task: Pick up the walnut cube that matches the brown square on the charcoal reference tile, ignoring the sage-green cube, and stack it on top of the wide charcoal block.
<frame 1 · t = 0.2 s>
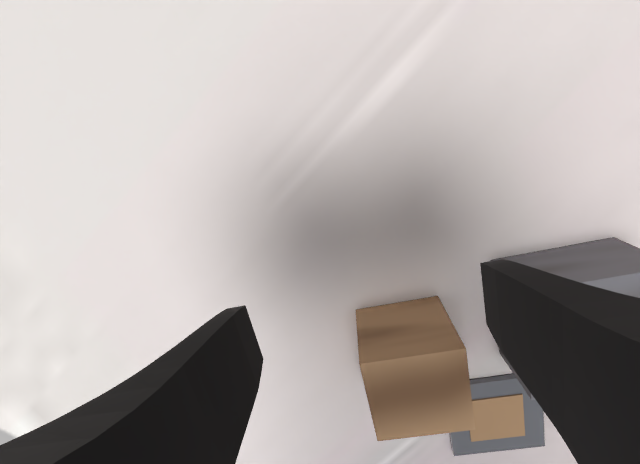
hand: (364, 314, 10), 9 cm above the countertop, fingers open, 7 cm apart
reference tile: (492, 412, 23), on the countertop
charcoal base block: (550, 297, 20), on the countertop
walnut cube: (402, 336, 22), on the countertop
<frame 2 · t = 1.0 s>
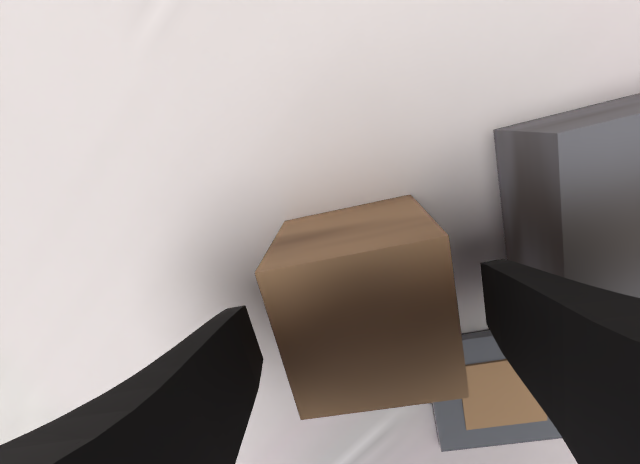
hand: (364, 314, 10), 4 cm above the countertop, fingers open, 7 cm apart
reference tile: (498, 386, 15), on the countertop
charcoal base block: (589, 194, 13), on the countertop
walnut cube: (358, 265, 14), on the countertop
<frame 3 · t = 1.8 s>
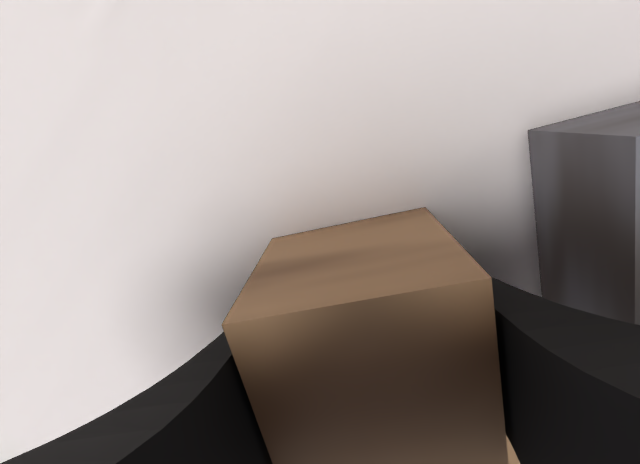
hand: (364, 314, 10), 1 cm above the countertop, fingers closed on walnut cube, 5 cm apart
walnut cube: (361, 291, 12), on the countertop, touching gripper
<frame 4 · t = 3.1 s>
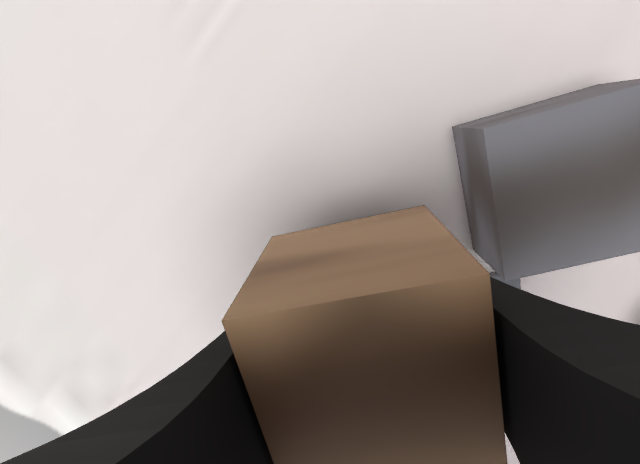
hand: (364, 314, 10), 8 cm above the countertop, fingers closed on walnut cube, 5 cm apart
charcoal base block: (528, 173, 17), on the countertop
walnut cube: (360, 289, 12), point 7 cm above the countertop, touching gripper
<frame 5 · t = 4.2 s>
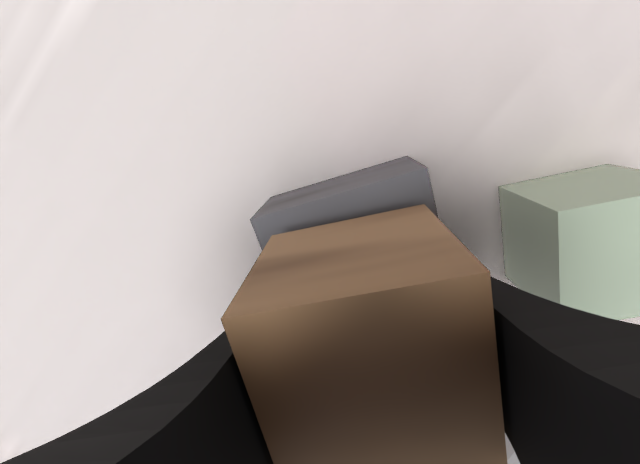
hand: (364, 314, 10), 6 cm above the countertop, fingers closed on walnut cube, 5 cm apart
charcoal base block: (355, 239, 17), on the countertop
sage cube: (552, 222, 16), on the countertop
walnut cube: (360, 288, 12), point 5 cm above the countertop, touching gripper
when the fingers open (6 cm above the countertop, at t = 4.7 s): walnut cube drops 1 cm, point 4 cm above the countertop.
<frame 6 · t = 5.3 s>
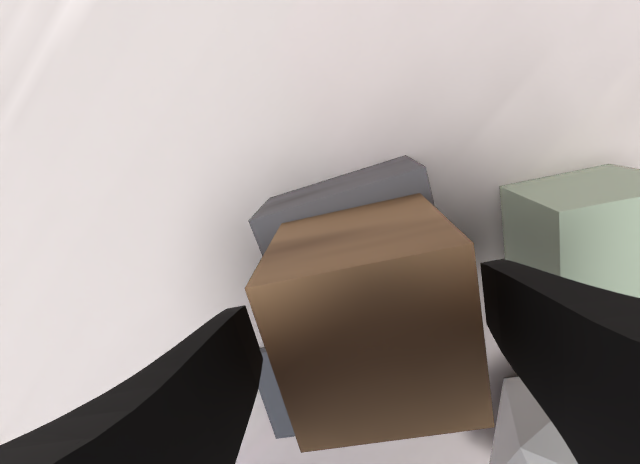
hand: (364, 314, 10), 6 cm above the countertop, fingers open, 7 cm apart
reference tile: (314, 386, 19), on the countertop
charcoal base block: (355, 239, 17), on the countertop
pale gray rock: (547, 399, 19), on the countertop
sage cube: (553, 223, 16), on the countertop
walnut cube: (362, 271, 13), point 4 cm above the countertop
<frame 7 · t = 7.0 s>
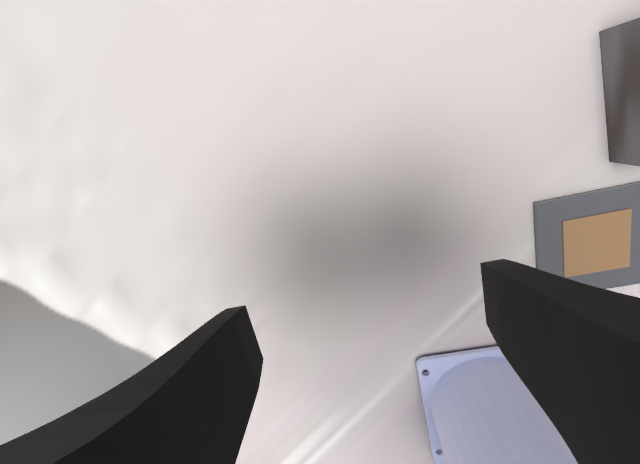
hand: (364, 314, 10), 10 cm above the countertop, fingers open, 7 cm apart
reference tile: (590, 241, 20), on the countertop
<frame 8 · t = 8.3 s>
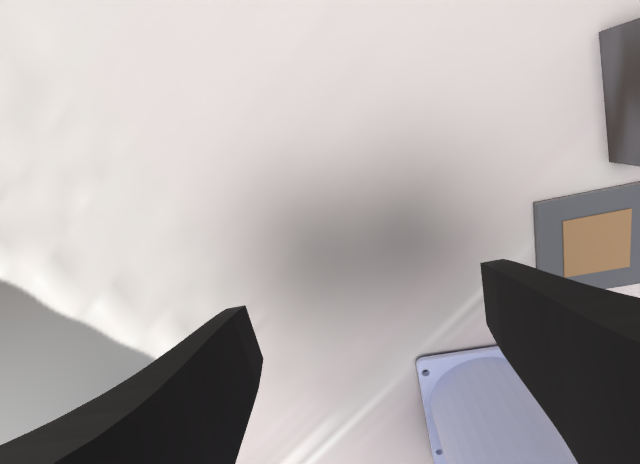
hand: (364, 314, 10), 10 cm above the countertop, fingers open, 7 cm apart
reference tile: (590, 241, 20), on the countertop
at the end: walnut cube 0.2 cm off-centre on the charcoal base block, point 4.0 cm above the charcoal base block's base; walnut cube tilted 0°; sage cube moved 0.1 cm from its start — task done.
